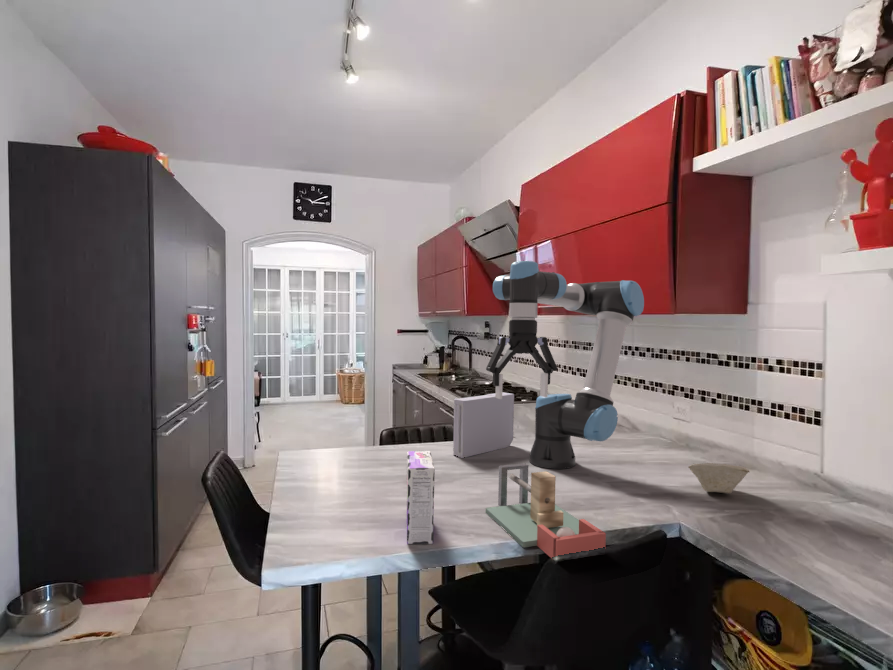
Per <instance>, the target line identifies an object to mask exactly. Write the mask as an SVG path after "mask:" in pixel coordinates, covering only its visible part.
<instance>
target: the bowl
mask: <svg viewBox="0 0 893 670" xmlns="http://www.w3.org/2000/svg"><path fill="white" fill-rule="evenodd" d="M688 469H690V471H691V472H692V473H693V475H694V476H695V477H696V479H697V480H698V482H699V484H700V485H701V488H702V489H703V490H704V491H705V492H706V493H721V494H732V493H733V491H734V490H735V488H736V487H737V486H738V485H739V484H740V483H741V482H742V481H743V479H745V477H746V476H747V474H748V473H750V469H749V468H747V467H746V466H742V465H732V464H727V463H715V462H714V463H713V462H712V463H711V462H705V463H704V462H703V463H692V464H690V465H689V466H688Z"/></svg>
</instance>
